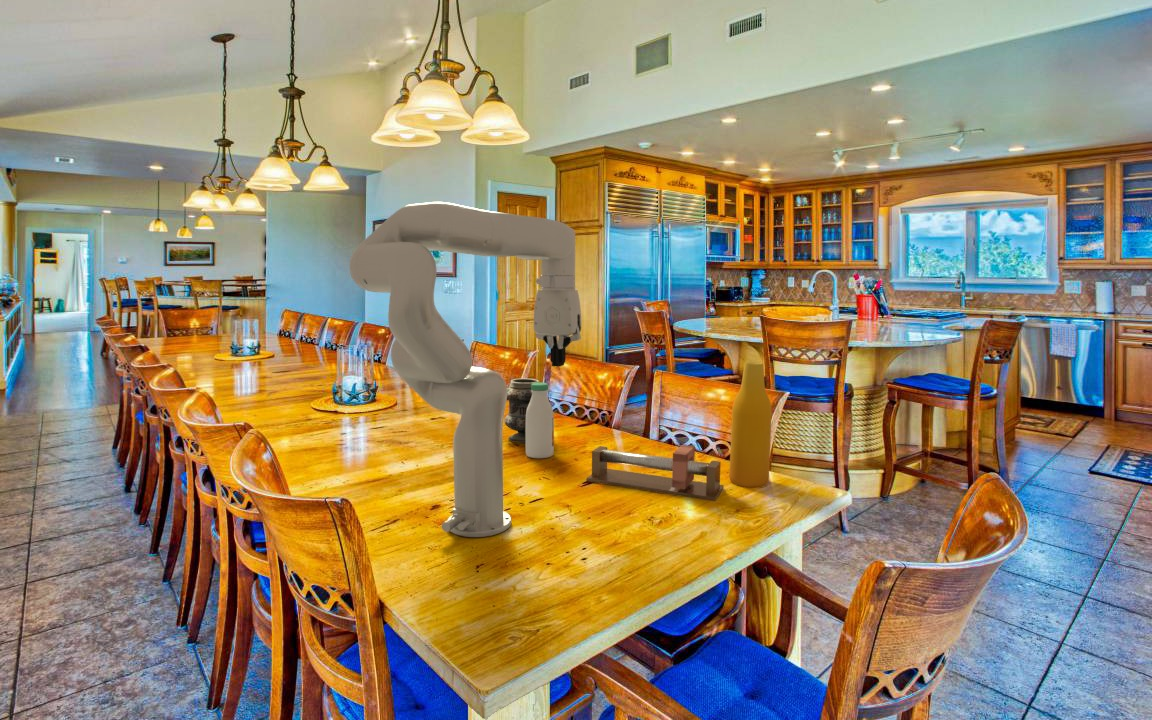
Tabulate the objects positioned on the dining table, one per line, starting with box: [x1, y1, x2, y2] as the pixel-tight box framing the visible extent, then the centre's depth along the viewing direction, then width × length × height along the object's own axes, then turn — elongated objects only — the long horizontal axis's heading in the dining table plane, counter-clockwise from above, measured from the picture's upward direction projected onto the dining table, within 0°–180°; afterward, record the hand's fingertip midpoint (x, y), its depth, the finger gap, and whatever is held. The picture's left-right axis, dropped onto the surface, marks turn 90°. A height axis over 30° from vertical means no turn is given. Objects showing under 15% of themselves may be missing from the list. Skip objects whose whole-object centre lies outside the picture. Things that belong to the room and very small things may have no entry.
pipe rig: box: [586, 445, 724, 502], centre depth 149 cm, size 9×31×7 cm, turn 65°
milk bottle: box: [525, 382, 555, 459], centre depth 172 cm, size 8×8×20 cm
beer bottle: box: [728, 361, 773, 489], centre depth 150 cm, size 9×9×29 cm
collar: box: [671, 444, 696, 489], centre depth 146 cm, size 8×3×8 cm, turn 155°
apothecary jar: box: [503, 377, 540, 444], centre depth 189 cm, size 12×12×18 cm
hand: (558, 365), depth 141 cm, fingers closed
